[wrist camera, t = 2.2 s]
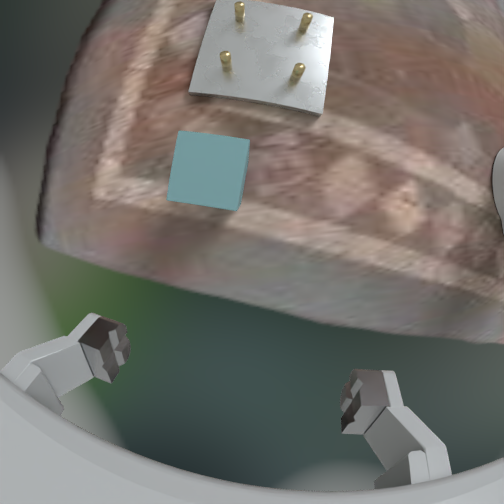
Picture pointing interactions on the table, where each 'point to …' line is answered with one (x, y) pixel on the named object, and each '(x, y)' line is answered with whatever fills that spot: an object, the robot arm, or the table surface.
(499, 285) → the table surface
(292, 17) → the post plate
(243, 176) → the teal block
